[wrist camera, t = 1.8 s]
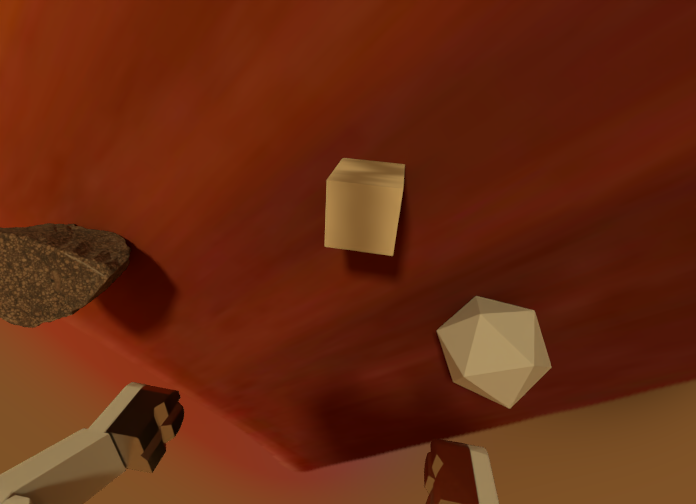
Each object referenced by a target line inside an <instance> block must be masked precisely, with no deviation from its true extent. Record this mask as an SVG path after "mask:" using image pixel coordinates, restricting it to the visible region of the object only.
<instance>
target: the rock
mask: <svg viewBox="0 0 696 504" xmlns="http://www.w3.org/2000/svg"><path fill="white" fill-rule="evenodd" d="M130 252H131V249H130V247H128V246H127V244H126V240H125V239H124V238H122V237H121V236H120V235H117V234H116V233H112V232H108V231H102V230H101V231H100V230H91V229H85V228H84V227H79V226H75V224H68V225H64V224H50V223H49V224H43V225H36V226H32V227H26V228H24V227H23V228H18V227H15V228H0V318H2V319H4V320H5V321H7V322H9V323H11V324H14V325H20V326H23V327H32V328H33V327H36V326H39V325H40V324H41V323H43V322H52V321H54V320H56V319H60V318H62V317H67V316H69V315H72V314H74V313H75V312H77V311H78V310H79V309H80V308H82V307H84V306H85V305H87V304H88V303H89V302H91V301H92V300H93V299H94V298H96V297H97V296H98V295H100V294H101V293H102V292H103V291H105V290H106V289H107V288H108V287H109V286H110V285H111V284H112V283H113V282H114V281H115V280H116V279H117V278H118V277H119V276H120V275H121V274H122V272H123V271H125V270H126V269H127V267H128V265H129V263H130V261H129V255H130Z"/></svg>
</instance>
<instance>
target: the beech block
mask: <svg viewBox="0 0 696 504" xmlns="http://www.w3.org/2000/svg"><path fill="white" fill-rule="evenodd" d="M404 170H405V164H395V163H386V162H377V161H367V160H358V159H349V158H342V160H341V161H340V162H339V164H338V165H337V167H336V168H335V169H334V171H333V172H332V173H331V175H330V176H329V178H328V179H327V187H326V218H325V247H331V248H339V249H346V250H353V251H360V252H367V253H375V254H382V255H389V256H393V253H394V246H395V240H396V233H397V227H398V220H399V214H400V207H401V201H402V195H403V187H404Z"/></svg>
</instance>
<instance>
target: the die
mask: <svg viewBox="0 0 696 504" xmlns="http://www.w3.org/2000/svg"><path fill="white" fill-rule="evenodd" d="M437 334H438V337H439V340H440V343H441V346H442V349H443V352H444V355H445V359H446V362H447V365H448V368H449V371H450V374H451V377H452V380H453V382H454V383H456V384H458V385H460V386H463V387H465V388H467V389H469V390H471V391H473V392H475V393H477V394H480V395H482V396H484V397H486V398H488V399H490V400H492V401H494V402H497V403H499V404H501V405H503V406H505V407H507V408H509V409H510V408H511V407H512V406H513V405H514V404H515V403H516V402H517V401H518V400H519V399H520V398H521V397H522V396H523V395H524V394H525V393H526V392H527V391H528V390H529V389H530V388H531V387H532V386H533V385H534V384H535V383H536V382H537V381H538V380H539V379H540V378H541V377H542V376H543V375H544V374H545V373H546V372H547V371H548V370H549V369H550V368H551V364H550V360H549V357H548V354H547V350H546V347H545V344H544V340H543V337H542V334H541V330H540V327H539V324H538V321H537V317H536V314H535V311H534V310H530V309H526V308H522V307H518V306H514V305H511V304H507V303H503V302H499V301H495V300H491V299H487V298H483V297H479V296H475V297H474V298H473V299H472V300H471V301H469V302H468V303H467V304H466V305H465V306H464V307H463V308H462V309H460V310H459V311H458V312H457V313H456V314H455V315H454V316H452V317H451V318H450V319H449V320H448V321H447V322H446V323H444V324H443V325H442V326H441V327H440V328H439V329H438V330H437Z"/></svg>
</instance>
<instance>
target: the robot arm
mask: <svg viewBox="0 0 696 504" xmlns="http://www.w3.org/2000/svg"><path fill="white" fill-rule="evenodd" d="M179 399H180V395H179V391H176V390H171V389H165V388H160V387H155V386H150V385H146V384H140V383H135V382H132V383H130V384H129V385H127V386H126V387H125V388H124V389H123V390H122V391H121V392H120V393H119V394H118V396H117V397H116V398H115V399H114V400H113V401H112V402H111V404H110V405H109V406H108V407H107V408H106V409H105V410H104V411H103V413H102V414H101V415H100V416H99V417H98V418H97V419H96V421H95V422H94V423H93V424H92V425H91V426H90V427H89V428H88V429H86V428H83V429H81V430H80V431H78V432H76V433H74V434H72V435H71V436H69V437H67V438H65V439H64V440H62V441H60V442H58V443H56V444H54V445H53V446H51V447H49V448H47V449H45V450H44V451H42V452H40V453H38V454H37V455H35V456H33V457H31V458H29V459H28V460H26V461H24V462H22V463H20V464H19V465H17V466H15V467H13V468H11V469H10V470H8V471H6V472H4V473H3V474H1V475H0V504H84V503H85V502H86V501H88V500H89V499H90V498H91V497H93V496H94V495H95V494H96V493H98V492H99V491H100V490H102V489H103V488H104V487H105V486H106V485H108V484H109V483H110V482H112V481H113V480H114V479H115V478H117V477H118V476H119V475H120V474H122V473H123V472H124V471H126V469H125V468H127V469H132V470H138V471H144V472H149V473H153V471H154V469H155V468H156V466H157V465H158V463H159V462H160V460H161V458H162V457H163V455H164V454H165V452H166V443H167V442H168V441H170V440H171V439H173V438H174V437H175V436H176V434H177V433H178V431H179V429H180V427H181V424H182V422H183V419H184V409H183V406H182V405H181V404H180V403H179V402H178V401H179ZM424 482H425V488H426V490H427V492H428V493H429V496H428V499H427V502H426V504H499V501H498V496H497V492H496V487H495V483H494V478H493V474H492V469H491V465H490V460H489V456H488V452H487V450H486V449H485V448H484V447H479V446H473V445H468V444H464V443H458V442H452V441H446V440H440V439H433V440H432V442H431V452H429V453H428V454H427V457H426V461H425V469H424Z"/></svg>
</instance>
